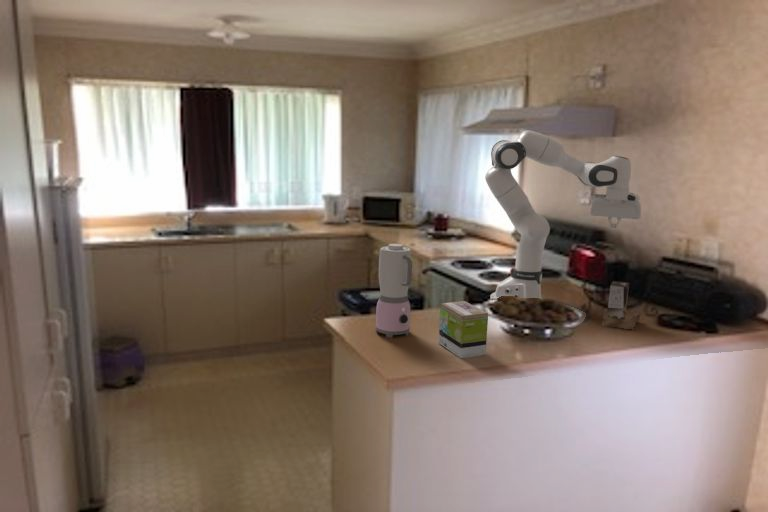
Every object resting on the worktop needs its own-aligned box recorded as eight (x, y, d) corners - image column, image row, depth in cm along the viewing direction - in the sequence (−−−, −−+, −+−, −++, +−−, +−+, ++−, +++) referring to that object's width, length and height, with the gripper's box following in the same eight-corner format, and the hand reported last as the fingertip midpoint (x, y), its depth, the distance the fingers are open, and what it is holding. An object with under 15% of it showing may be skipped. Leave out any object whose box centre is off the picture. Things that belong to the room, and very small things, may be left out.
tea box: (437, 344, 203) (439, 302, 200) (462, 340, 207) (465, 299, 204) (460, 359, 189) (462, 314, 186) (486, 355, 193) (489, 311, 191)
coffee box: (623, 328, 227) (627, 287, 224) (605, 325, 230) (609, 284, 227) (625, 322, 235) (629, 282, 232) (608, 319, 238) (612, 280, 235)
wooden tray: (598, 325, 230) (599, 316, 229) (602, 316, 241) (603, 308, 240) (636, 331, 224) (637, 322, 223) (639, 322, 235) (640, 313, 234)
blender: (368, 330, 215) (371, 243, 209) (396, 325, 222) (399, 240, 215) (393, 343, 202) (396, 250, 196) (421, 337, 209) (426, 248, 203)
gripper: (590, 194, 251) (586, 226, 253) (642, 197, 242) (638, 231, 245) (592, 193, 256) (589, 224, 259) (643, 196, 247) (639, 229, 250)
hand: (613, 227), depth 252 cm, fingers closed
